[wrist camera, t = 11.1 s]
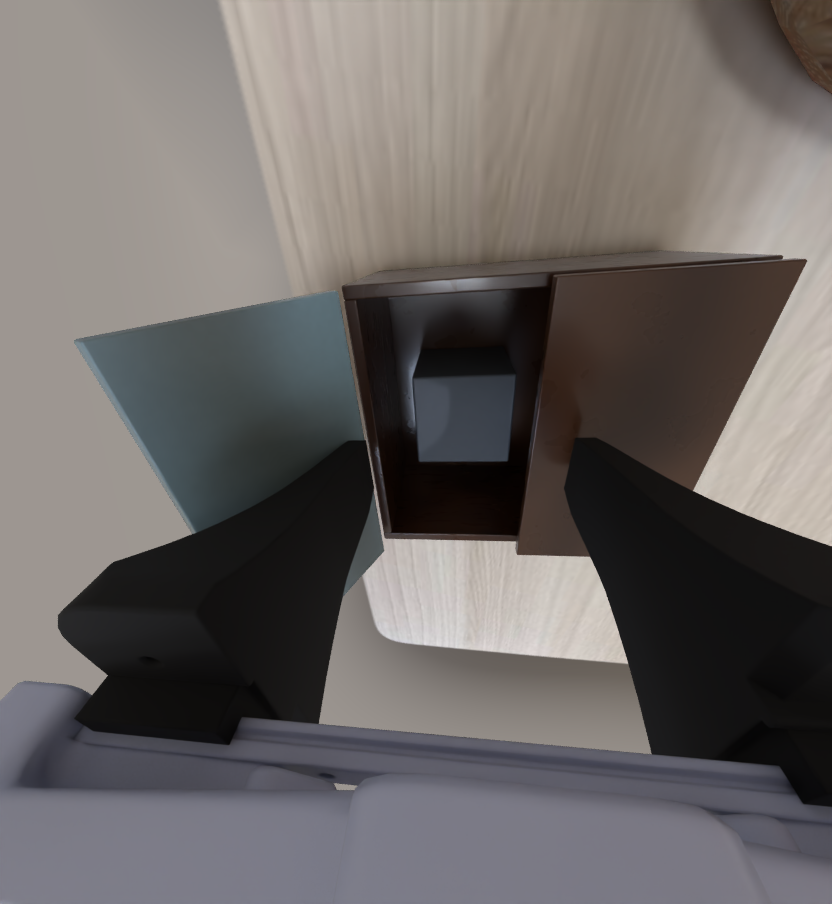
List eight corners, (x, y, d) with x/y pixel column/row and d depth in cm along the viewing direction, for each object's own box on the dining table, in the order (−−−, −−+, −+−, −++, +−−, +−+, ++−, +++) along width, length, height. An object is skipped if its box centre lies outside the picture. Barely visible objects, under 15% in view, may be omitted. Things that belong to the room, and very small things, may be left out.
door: (384, 551, 15) (377, 547, 15) (338, 290, 9) (328, 290, 9) (278, 669, 11) (271, 662, 11) (79, 341, 5) (71, 339, 5)
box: (400, 467, 20) (381, 552, 15) (378, 271, 15) (332, 289, 9) (599, 466, 19) (661, 559, 13) (661, 250, 13) (813, 256, 8)
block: (424, 421, 18) (417, 462, 15) (419, 349, 16) (411, 377, 13) (497, 420, 18) (508, 462, 14) (503, 345, 16) (517, 374, 12)
